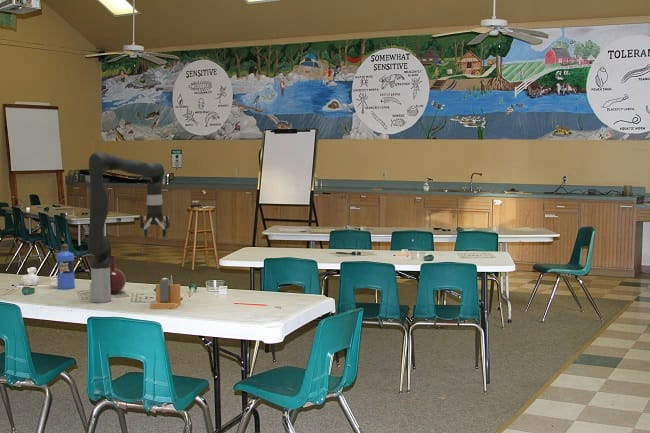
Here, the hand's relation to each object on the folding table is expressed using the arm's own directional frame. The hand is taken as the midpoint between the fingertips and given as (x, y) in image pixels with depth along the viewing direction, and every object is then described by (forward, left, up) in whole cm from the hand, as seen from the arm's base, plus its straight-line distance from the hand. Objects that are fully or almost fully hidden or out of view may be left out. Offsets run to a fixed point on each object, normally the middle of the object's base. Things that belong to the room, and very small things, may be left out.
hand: (155, 237), depth 396 cm
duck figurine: (-91, +57, -34) cm, 113 cm away
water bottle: (-66, +47, -34) cm, 88 cm away
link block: (+5, -3, -33) cm, 33 cm away
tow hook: (+4, +16, -34) cm, 38 cm away
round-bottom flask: (-34, +33, -34) cm, 59 cm away
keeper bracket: (+5, -2, -34) cm, 34 cm away
